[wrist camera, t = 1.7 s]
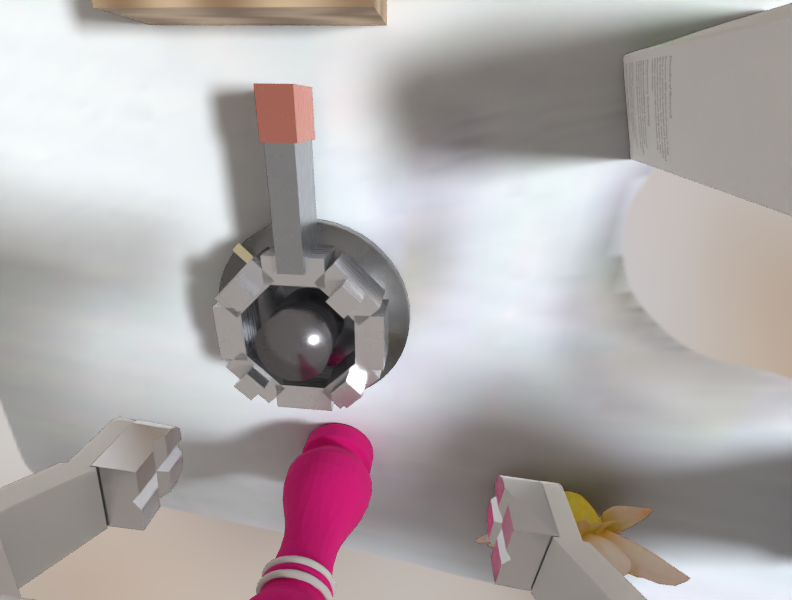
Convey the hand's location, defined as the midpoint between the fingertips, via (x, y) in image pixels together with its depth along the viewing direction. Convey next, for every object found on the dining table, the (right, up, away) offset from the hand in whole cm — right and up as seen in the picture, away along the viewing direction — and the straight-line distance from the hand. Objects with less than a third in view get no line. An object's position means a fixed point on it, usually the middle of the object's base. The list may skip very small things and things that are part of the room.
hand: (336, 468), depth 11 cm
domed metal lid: (-5, +3, +23) cm, 24 cm away
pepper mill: (-4, -9, +29) cm, 31 cm away
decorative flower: (+16, -15, +29) cm, 37 cm away
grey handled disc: (-5, +7, +20) cm, 22 cm away
